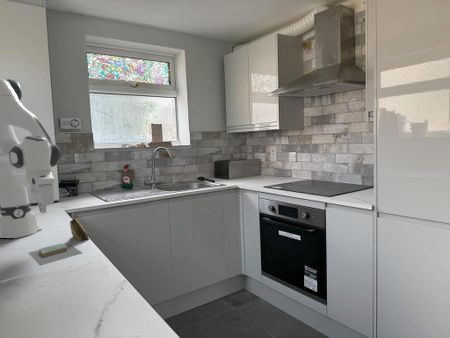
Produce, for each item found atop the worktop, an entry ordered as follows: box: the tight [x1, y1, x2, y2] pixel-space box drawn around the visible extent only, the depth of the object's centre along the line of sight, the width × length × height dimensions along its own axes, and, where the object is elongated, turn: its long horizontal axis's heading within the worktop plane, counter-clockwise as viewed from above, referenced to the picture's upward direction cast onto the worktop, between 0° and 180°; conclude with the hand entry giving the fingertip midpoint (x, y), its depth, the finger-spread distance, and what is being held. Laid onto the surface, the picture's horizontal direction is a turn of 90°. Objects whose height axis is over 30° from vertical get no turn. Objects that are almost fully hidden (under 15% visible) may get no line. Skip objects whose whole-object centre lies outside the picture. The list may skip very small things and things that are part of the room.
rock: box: [69, 217, 90, 242], centre depth 137 cm, size 11×9×10 cm
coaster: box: [38, 243, 67, 257], centre depth 121 cm, size 2×8×7 cm
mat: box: [28, 242, 83, 266], centre depth 120 cm, size 19×14×1 cm
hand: (43, 212), depth 126 cm, fingers closed
